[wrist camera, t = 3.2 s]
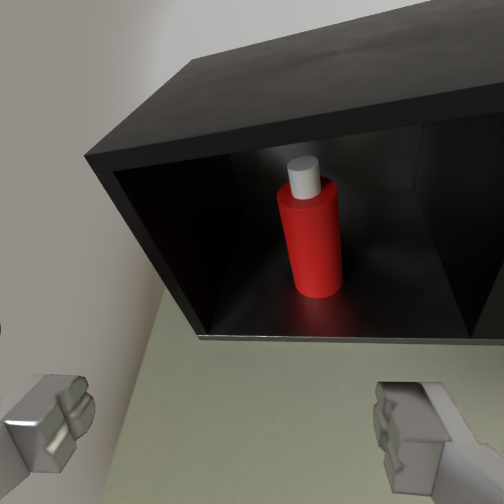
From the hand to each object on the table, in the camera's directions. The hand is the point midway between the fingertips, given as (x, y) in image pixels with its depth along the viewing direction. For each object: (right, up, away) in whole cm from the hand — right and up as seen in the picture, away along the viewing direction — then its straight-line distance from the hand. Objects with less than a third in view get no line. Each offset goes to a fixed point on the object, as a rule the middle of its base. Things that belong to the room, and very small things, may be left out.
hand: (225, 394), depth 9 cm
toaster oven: (+14, +3, +33) cm, 36 cm away
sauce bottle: (+9, 0, +30) cm, 31 cm away
